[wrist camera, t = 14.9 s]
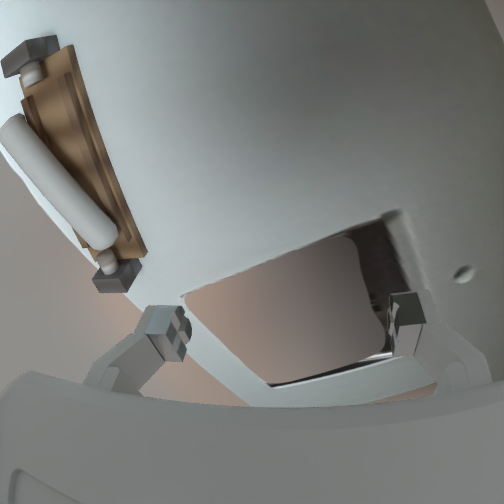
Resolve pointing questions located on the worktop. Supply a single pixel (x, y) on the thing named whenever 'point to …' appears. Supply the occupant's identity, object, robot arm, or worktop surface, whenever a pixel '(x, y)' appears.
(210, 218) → the worktop surface
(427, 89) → the worktop surface
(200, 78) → the worktop surface
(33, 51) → the shaft bed
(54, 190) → the tube
